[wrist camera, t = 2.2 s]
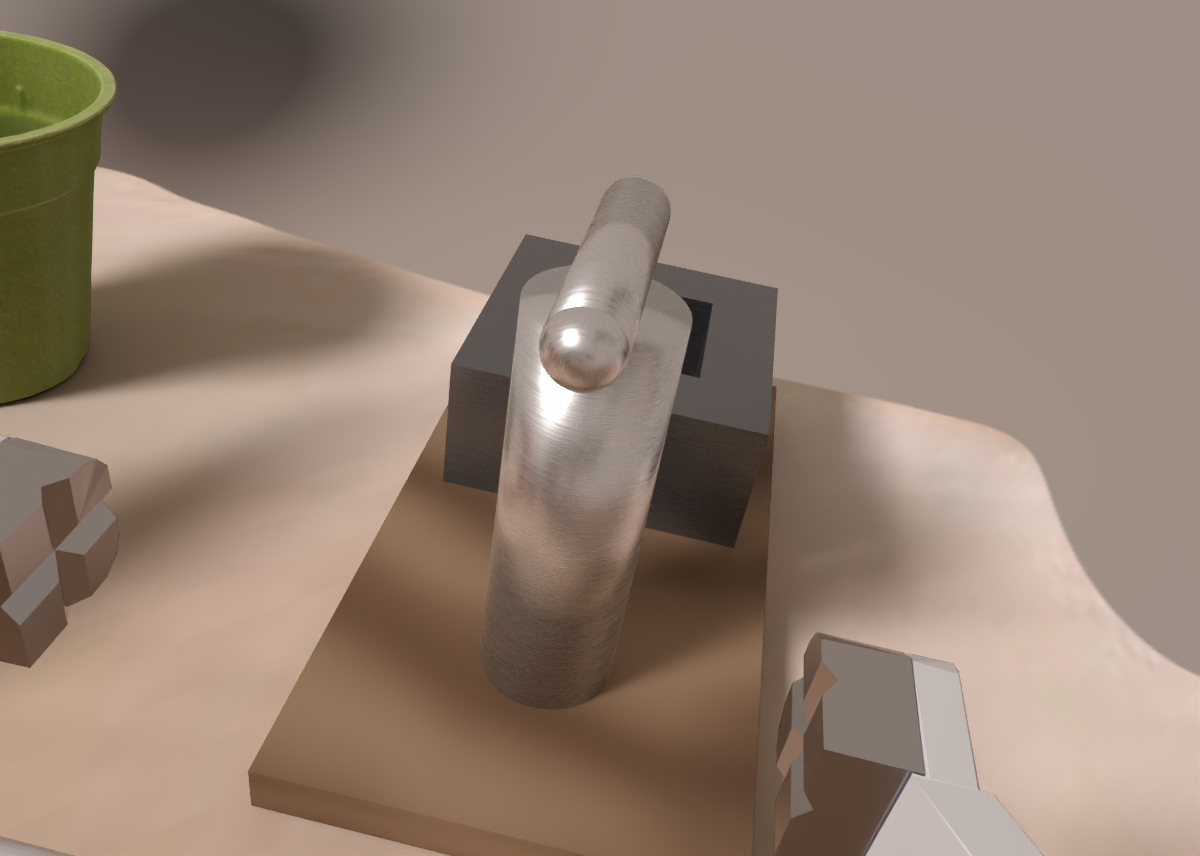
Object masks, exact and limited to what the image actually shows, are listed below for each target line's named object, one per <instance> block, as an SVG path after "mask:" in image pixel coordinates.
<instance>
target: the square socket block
mask: <svg viewBox="0 0 1200 856" xmlns="http://www.w3.org/2000/svg"><path fill="white" fill-rule="evenodd" d="M579 248H580V246H578V245H573V244H568V243H564V242H559V241H555V240H550V239H545V238H541V237H536V236H531V235H527V234H526V235H525V237H524V239H523V240H522V242H521V244H520V246H519V247H518V249H517V251H516V253H515V254H514V256H513V258H512V260H511V261H510V263H509V265H508V266H507V268H506V270H505V272H504V273H503V275H502V277H501V279H500V280H499V282H498V284H497V286H496V287H495V289H494V291H493V293H492V294H491V296H490V298H489V299H488V301H487V303H486V305H485V306H484V308H483V310H482V312H481V313H480V315H479V317H478V319H477V320H476V322H475V324H474V326H473V327H472V329H471V331H470V332H469V334H468V336H467V338H466V339H465V341H464V343H463V345H462V346H461V348H460V350H459V352H458V353H457V355H456V357H455V359H454V360H453V362H452V364H451V375H450V389H449V403H448V416H447V430H446V444H445V457H444V471H443V481H444V482H448V483H453V484H457V485H461V486H466V487H470V488H475V489H479V490H483V491H488V492H492V493H496V494H498V487H499V478H500V470H501V461H502V452H503V443H504V435H505V426H506V417H507V409H508V400H509V391H510V382H511V374H512V365H513V356H514V347H515V339H516V330H517V321H518V313H519V304H520V295H521V291H522V288H523V286H524V285H525V284H526V282H527V281H528V280H530V279H531V278H532V277H534V276H535V275H537V274H539V273H541V272H543V271H546V270H549V269H553V268H557V267H562V266H569V265H572V263H573V261H574V259H575V257H576V254H577V252H578V250H579ZM653 280H655V281H658V282H660V283H661V284H663V285H665V286H667V287H668V288H670V289H671V290H673V291H674V292H675V293H676V294H678V295H679V296H680V297H681V298H682V299H683V300H684V301H685V303H686V304H687V306H688V307H689V309H690V311H691V314H692V327H691V332H690V336H689V340H688V344H687V349H686V353H685V357H684V362H683V366H682V370H681V375H680V379H679V383H678V387H677V392H676V396H675V400H674V405H673V409H672V413H671V417H670V422H669V426H668V430H667V435H666V439H665V443H664V447H663V452H662V456H661V460H660V465H659V469H658V473H657V478H656V482H655V486H654V490H653V495H652V499H651V503H650V508H649V512H648V516H647V520H646V525H645V528H648V529H653V530H657V531H661V532H666V533H670V534H674V535H679V536H683V537H687V538H692V539H696V540H700V541H705V542H709V543H713V544H718V545H722V546H726V547H731V548H734V546H735V543H736V540H737V537H738V534H739V530H740V527H741V524H742V521H743V517H744V514H745V511H746V508H747V504H748V501H749V498H750V495H751V492H752V488H753V485H754V482H755V479H756V475H757V472H758V469H759V466H760V463H761V459H762V456H763V453H764V450H765V446H766V443H767V440H768V437H769V427H770V410H771V393H772V375H773V359H774V342H775V325H776V309H777V308H776V307H777V292H778V289H777V288H773V287H768V286H763V285H759V284H754V283H750V282H745V281H740V280H735V279H731V278H726V277H722V276H717V275H712V274H708V273H703V272H698V271H694V270H689V269H685V268H680V267H675V266H671V265H666V264H661V263H657V265H656V268H655V272H654V275H653Z"/></svg>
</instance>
